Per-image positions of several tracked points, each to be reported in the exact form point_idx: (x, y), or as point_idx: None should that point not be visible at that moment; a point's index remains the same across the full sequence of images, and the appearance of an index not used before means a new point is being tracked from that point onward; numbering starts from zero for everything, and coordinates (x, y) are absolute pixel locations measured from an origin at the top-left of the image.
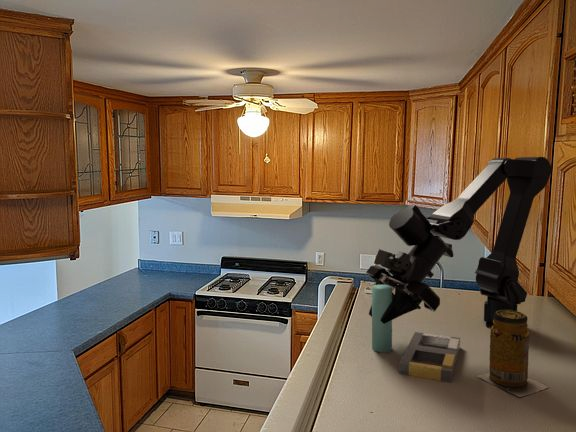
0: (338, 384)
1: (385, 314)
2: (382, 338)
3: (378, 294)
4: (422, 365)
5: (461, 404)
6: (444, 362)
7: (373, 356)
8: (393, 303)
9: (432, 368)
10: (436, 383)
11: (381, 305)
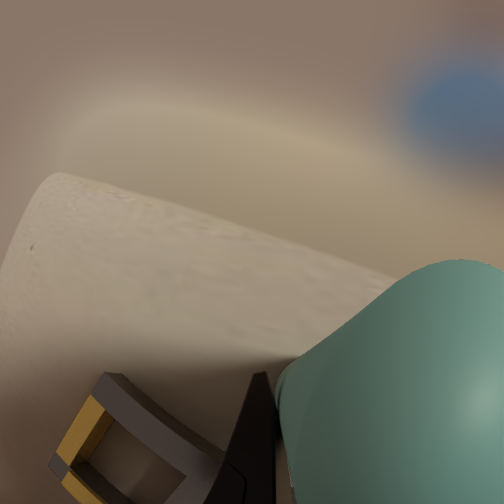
0: (122, 207)
1: (250, 404)
2: (277, 384)
3: (320, 350)
4: (79, 426)
5: (7, 412)
6: (79, 484)
7: (252, 343)
8: (229, 489)
9: (63, 438)
10: (65, 430)
11: (289, 386)
